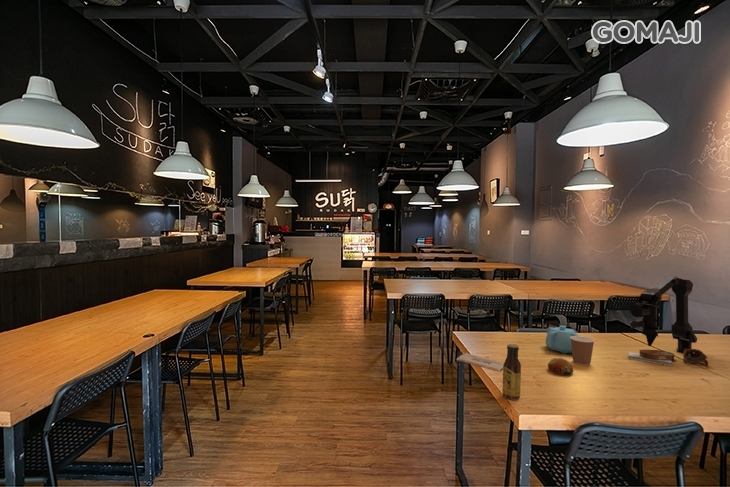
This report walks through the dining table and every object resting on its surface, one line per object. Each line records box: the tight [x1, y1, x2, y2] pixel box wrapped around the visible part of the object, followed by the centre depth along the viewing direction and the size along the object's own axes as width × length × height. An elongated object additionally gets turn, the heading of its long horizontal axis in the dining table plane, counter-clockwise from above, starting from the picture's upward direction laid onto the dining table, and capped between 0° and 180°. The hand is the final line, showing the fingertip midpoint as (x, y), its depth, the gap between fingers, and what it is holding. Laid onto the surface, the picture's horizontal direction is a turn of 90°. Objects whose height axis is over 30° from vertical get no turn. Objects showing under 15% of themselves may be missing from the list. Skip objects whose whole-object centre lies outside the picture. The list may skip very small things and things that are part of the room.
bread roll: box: [547, 357, 574, 377], centre depth 158 cm, size 10×10×8 cm
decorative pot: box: [544, 325, 580, 355], centre depth 190 cm, size 16×16×14 cm
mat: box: [627, 351, 673, 367], centre depth 177 cm, size 12×17×1 cm
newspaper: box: [456, 352, 504, 373], centre depth 170 cm, size 23×12×2 cm, turn 46°
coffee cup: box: [570, 335, 595, 366], centre depth 170 cm, size 10×10×12 cm
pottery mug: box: [682, 348, 709, 366], centre depth 172 cm, size 12×9×8 cm
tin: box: [639, 349, 676, 361], centre depth 178 cm, size 15×3×8 cm
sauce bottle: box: [502, 343, 522, 401], centre depth 132 cm, size 7×6×20 cm
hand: (649, 345), depth 181 cm, fingers closed
